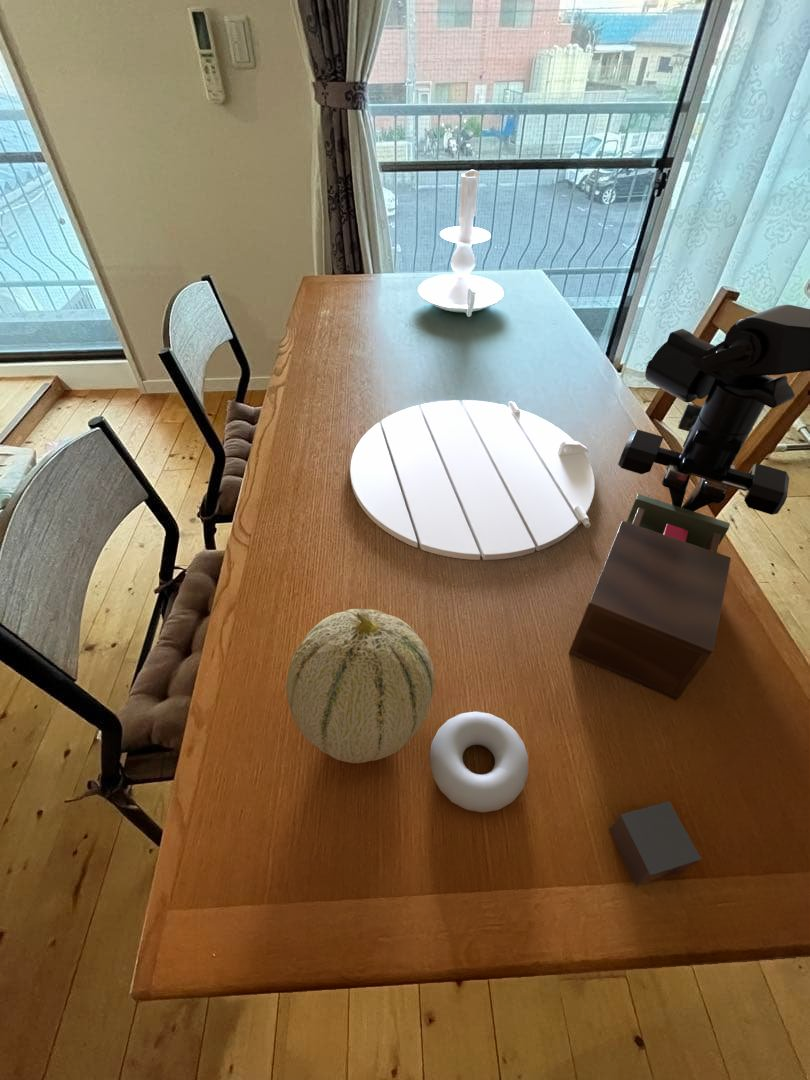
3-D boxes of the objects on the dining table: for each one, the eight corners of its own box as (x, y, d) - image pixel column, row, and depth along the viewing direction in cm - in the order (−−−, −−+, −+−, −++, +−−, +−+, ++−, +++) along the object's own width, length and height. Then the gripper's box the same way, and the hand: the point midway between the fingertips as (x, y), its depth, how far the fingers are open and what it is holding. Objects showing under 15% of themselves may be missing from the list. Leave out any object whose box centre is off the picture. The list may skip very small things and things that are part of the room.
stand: (654, 815, 54) (669, 800, 51) (684, 871, 51) (702, 859, 48) (608, 828, 53) (620, 814, 50) (635, 886, 50) (650, 875, 47)
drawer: (626, 519, 82) (644, 475, 76) (708, 546, 78) (734, 503, 72) (594, 602, 71) (612, 559, 65) (686, 639, 67) (715, 597, 61)
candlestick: (425, 332, 125) (431, 190, 105) (413, 288, 142) (415, 158, 122) (515, 329, 126) (537, 188, 106) (492, 285, 143) (507, 157, 123)
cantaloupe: (304, 800, 55) (281, 733, 44) (290, 672, 65) (269, 591, 54) (448, 765, 57) (460, 694, 46) (413, 647, 67) (416, 565, 56)
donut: (443, 709, 62) (416, 797, 55) (445, 693, 59) (417, 783, 52) (532, 737, 60) (516, 832, 53) (538, 722, 57) (522, 819, 50)
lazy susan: (542, 395, 107) (545, 378, 104) (644, 537, 80) (652, 520, 78) (336, 417, 101) (334, 401, 98) (373, 579, 74) (372, 562, 72)
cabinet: (600, 573, 76) (622, 520, 68) (697, 609, 71) (731, 557, 64) (568, 653, 67) (589, 602, 59) (676, 700, 62) (713, 651, 55)
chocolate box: (662, 590, 71) (682, 553, 66) (641, 583, 72) (660, 546, 67) (668, 567, 74) (688, 530, 69) (648, 560, 75) (667, 523, 70)
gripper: (818, 409, 65) (756, 506, 77) (656, 369, 72) (621, 464, 83) (815, 460, 59) (748, 558, 70) (636, 411, 65) (601, 508, 76)
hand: (676, 518), depth 75 cm, fingers closed
